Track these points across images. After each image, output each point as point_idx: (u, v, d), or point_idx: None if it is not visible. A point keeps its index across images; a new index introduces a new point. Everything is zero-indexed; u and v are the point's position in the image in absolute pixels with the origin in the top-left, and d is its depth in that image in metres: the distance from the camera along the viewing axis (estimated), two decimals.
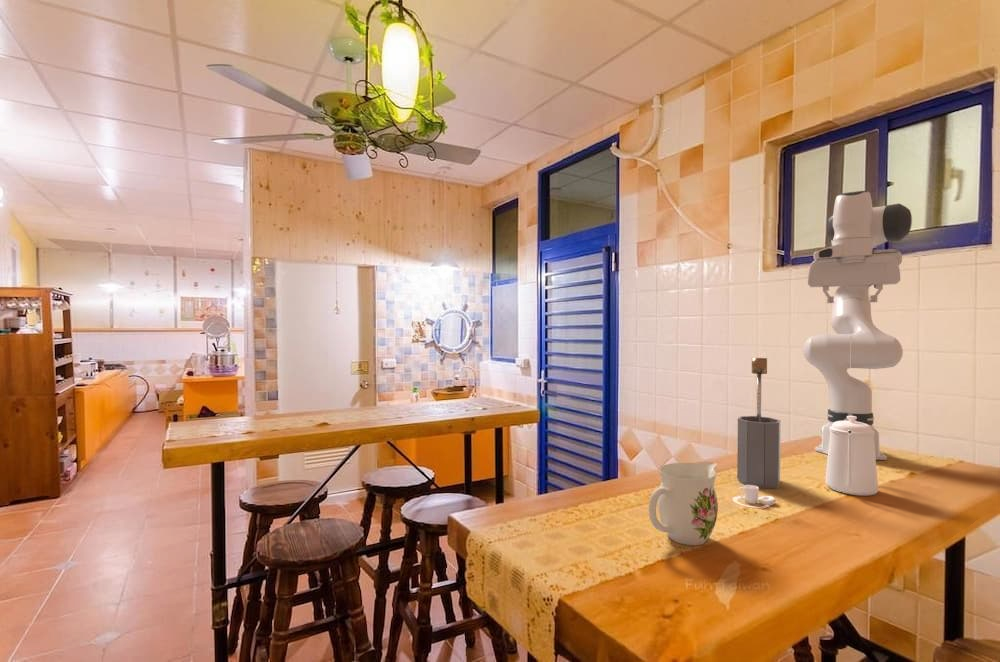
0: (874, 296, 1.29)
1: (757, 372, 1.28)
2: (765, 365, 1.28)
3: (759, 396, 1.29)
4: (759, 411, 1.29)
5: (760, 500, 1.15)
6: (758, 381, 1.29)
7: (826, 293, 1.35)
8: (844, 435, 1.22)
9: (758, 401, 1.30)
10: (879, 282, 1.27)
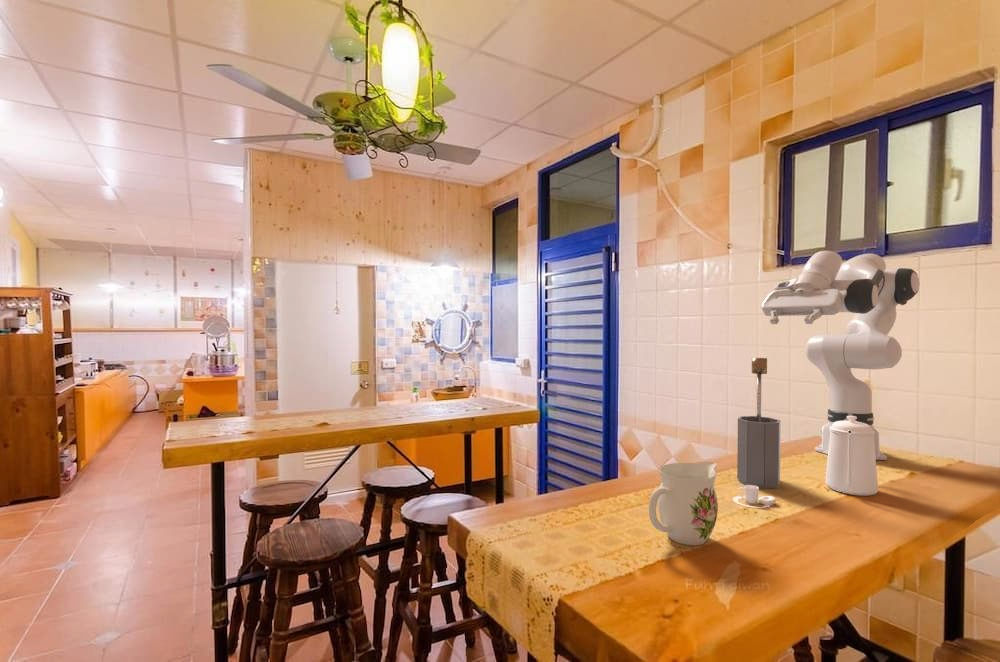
0: (809, 316, 1.34)
1: (757, 372, 1.28)
2: (765, 365, 1.28)
3: (759, 396, 1.29)
4: (759, 411, 1.29)
5: (760, 500, 1.15)
6: (758, 381, 1.29)
7: (772, 314, 1.43)
8: (844, 435, 1.22)
9: (758, 401, 1.30)
10: (817, 305, 1.34)
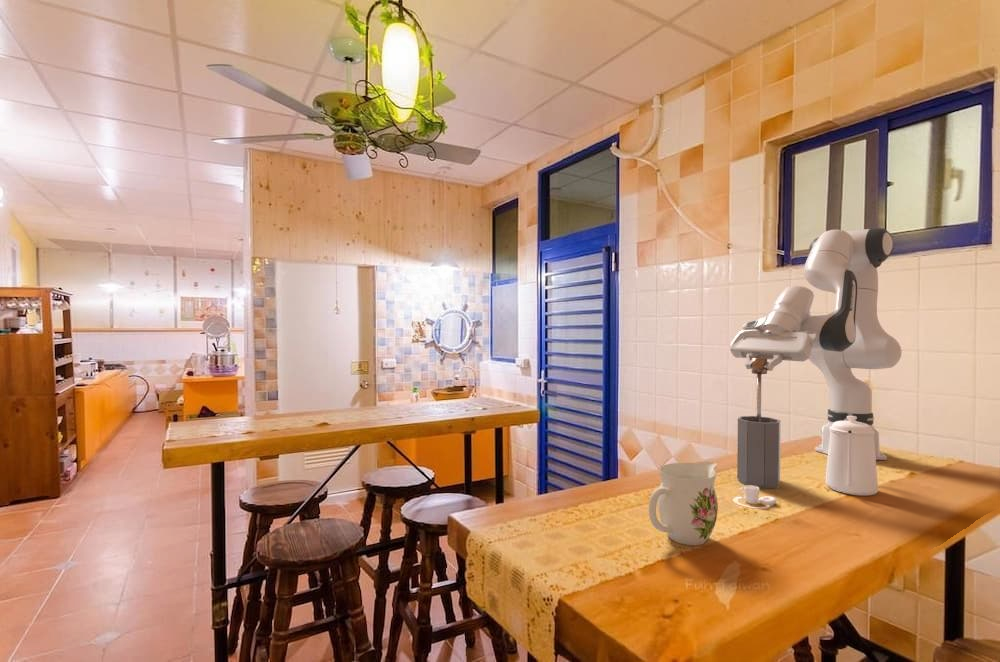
0: (768, 362, 1.27)
1: (757, 372, 1.28)
2: None
3: (759, 396, 1.29)
4: (759, 411, 1.29)
5: (761, 500, 1.14)
6: (758, 381, 1.29)
7: (748, 357, 1.33)
8: (844, 435, 1.22)
9: (758, 401, 1.30)
10: (785, 351, 1.26)
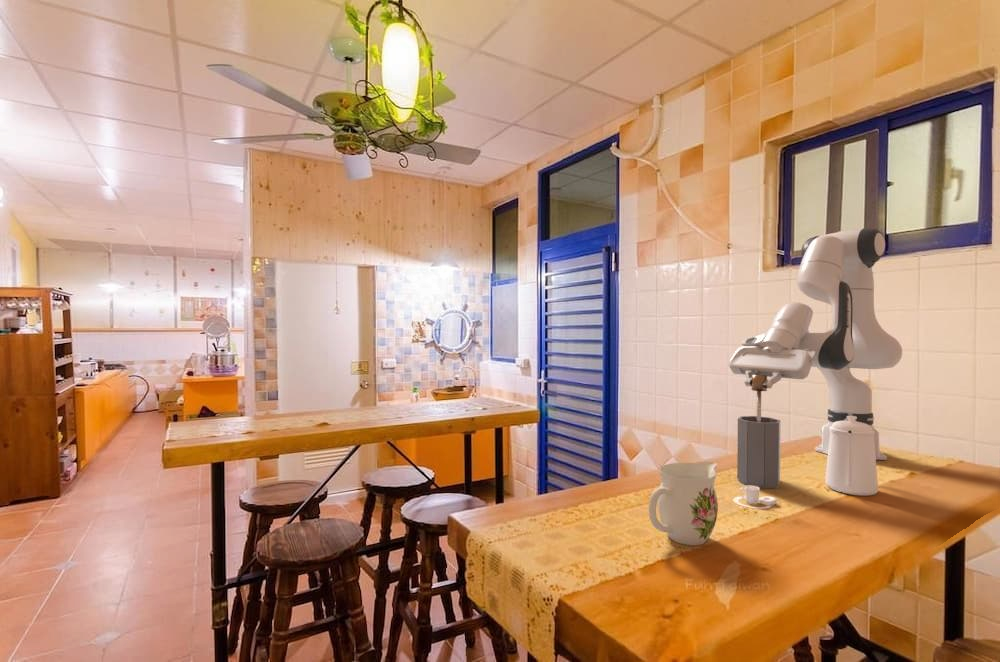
0: (767, 380, 1.27)
1: (757, 389, 1.28)
2: None
3: (759, 413, 1.29)
4: None
5: (761, 501, 1.14)
6: (758, 398, 1.30)
7: (747, 374, 1.33)
8: (844, 435, 1.22)
9: (758, 418, 1.30)
10: (784, 368, 1.26)
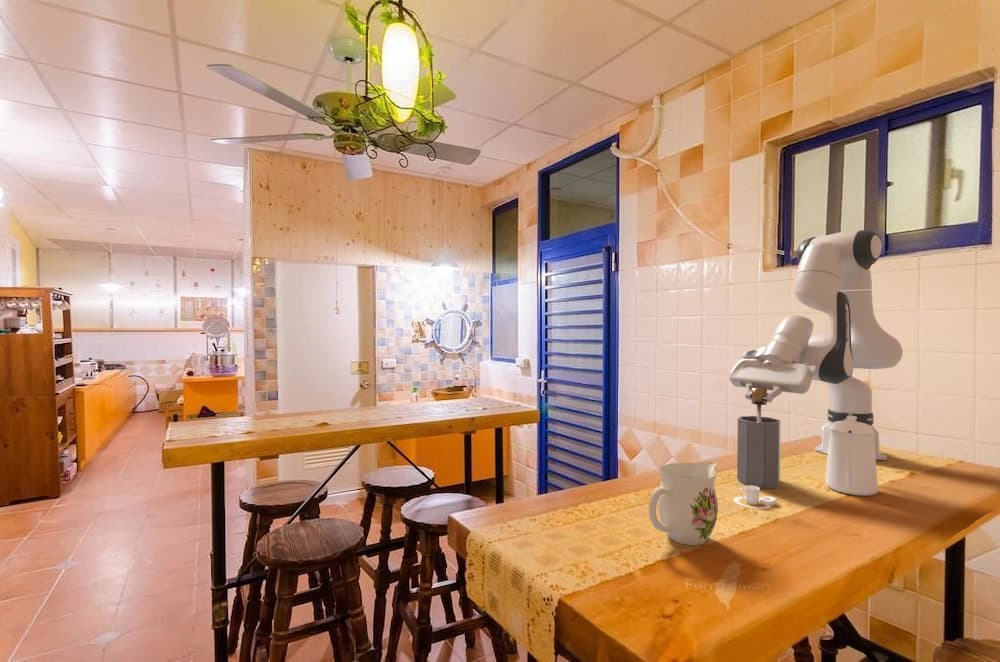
0: (768, 394, 1.27)
1: (757, 403, 1.29)
2: None
3: None
4: None
5: (761, 501, 1.14)
6: (758, 412, 1.30)
7: (747, 388, 1.33)
8: (844, 435, 1.22)
9: None
10: (785, 383, 1.26)
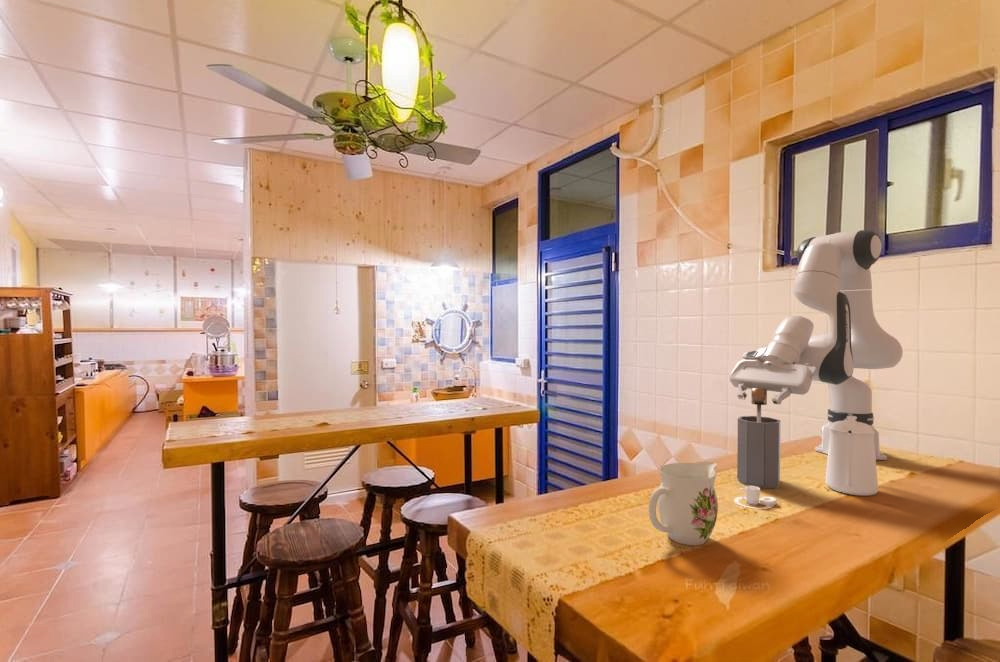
0: (777, 396, 1.26)
1: (757, 403, 1.29)
2: (765, 396, 1.28)
3: None
4: None
5: (761, 501, 1.14)
6: (758, 412, 1.30)
7: (740, 387, 1.35)
8: (844, 435, 1.22)
9: None
10: (785, 383, 1.26)
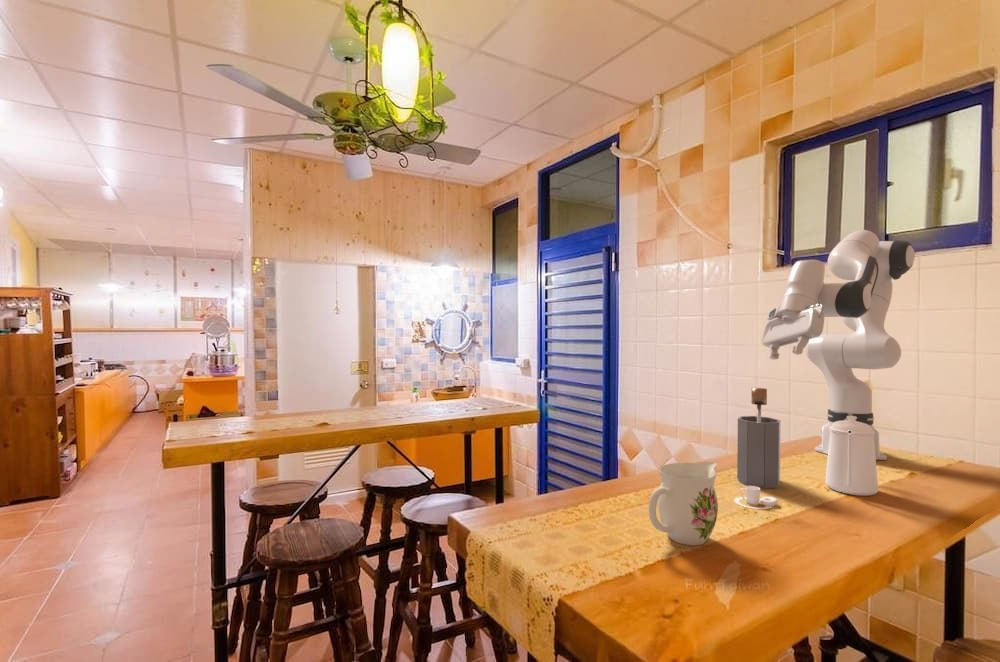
0: (795, 347, 1.30)
1: (757, 403, 1.29)
2: (765, 396, 1.28)
3: None
4: None
5: (762, 501, 1.14)
6: (758, 412, 1.30)
7: (770, 349, 1.40)
8: (844, 435, 1.22)
9: None
10: (798, 333, 1.30)
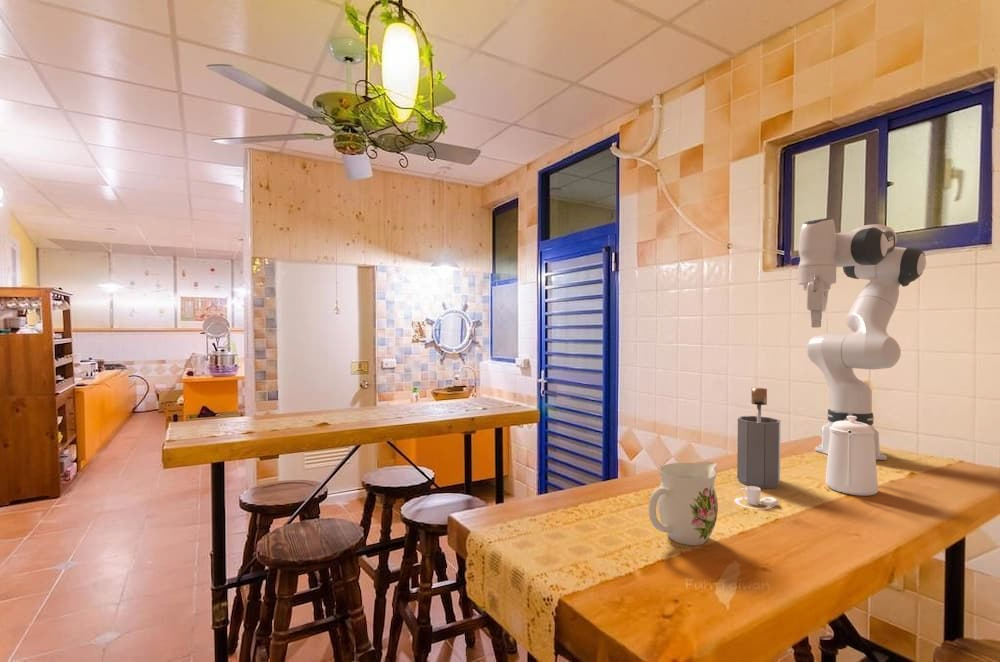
0: None
1: (757, 403, 1.29)
2: (765, 396, 1.28)
3: None
4: None
5: (762, 501, 1.14)
6: (758, 412, 1.30)
7: None
8: (844, 435, 1.22)
9: None
10: None
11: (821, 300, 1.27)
